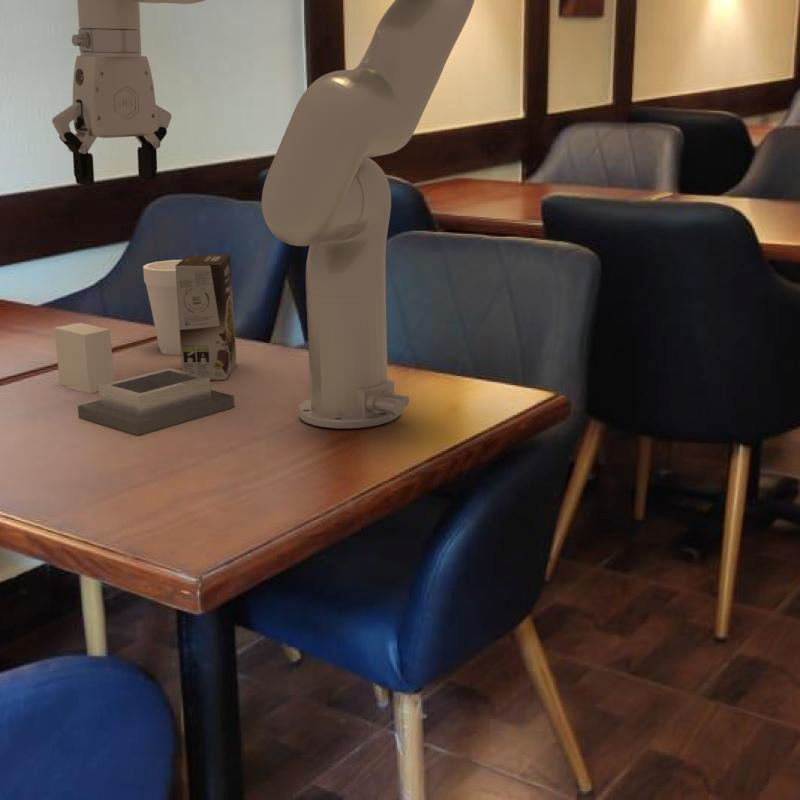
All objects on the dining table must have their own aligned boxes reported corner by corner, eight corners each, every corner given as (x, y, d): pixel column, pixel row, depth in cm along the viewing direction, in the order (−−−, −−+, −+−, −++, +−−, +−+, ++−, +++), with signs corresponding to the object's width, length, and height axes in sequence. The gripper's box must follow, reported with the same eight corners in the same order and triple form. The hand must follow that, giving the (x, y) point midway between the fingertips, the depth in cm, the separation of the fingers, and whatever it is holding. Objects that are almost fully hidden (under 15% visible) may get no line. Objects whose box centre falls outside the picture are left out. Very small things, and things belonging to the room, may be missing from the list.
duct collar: (234, 407, 152) (232, 376, 151) (137, 435, 142) (135, 403, 140) (174, 391, 160) (172, 362, 159) (78, 417, 149) (75, 386, 148)
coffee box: (228, 380, 165) (221, 264, 160) (181, 381, 165) (173, 264, 161) (238, 364, 174) (231, 253, 169) (193, 364, 174) (186, 253, 169)
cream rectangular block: (114, 387, 163) (109, 329, 161) (90, 393, 160) (84, 334, 158) (84, 378, 167) (79, 322, 165) (60, 385, 165) (54, 327, 162)
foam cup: (183, 360, 176) (177, 272, 173) (137, 353, 181) (129, 267, 178) (225, 346, 184) (220, 262, 180) (179, 340, 189) (173, 258, 185)
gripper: (67, 45, 143) (75, 190, 148) (184, 45, 155) (188, 179, 160) (33, 43, 148) (42, 183, 153) (149, 43, 160) (154, 173, 165)
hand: (117, 181), depth 156 cm, fingers open, 9 cm apart
